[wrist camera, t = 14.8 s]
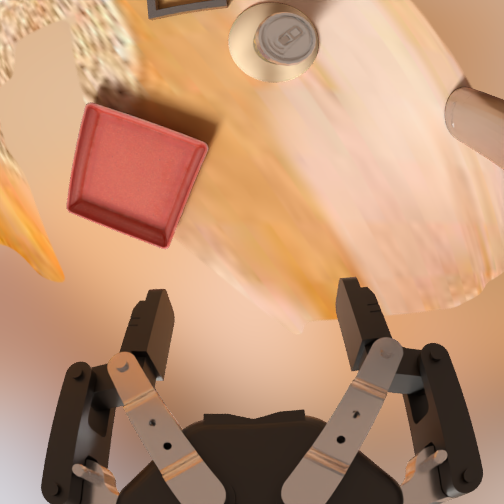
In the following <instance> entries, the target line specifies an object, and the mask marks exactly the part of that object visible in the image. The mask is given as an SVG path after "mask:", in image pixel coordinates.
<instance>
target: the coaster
mask: <svg viewBox="0 0 504 504" xmlns="http://www.w3.org/2000/svg"><path fill="white" fill-rule="evenodd" d="M280 12H288V13H294V14H297V15H299V16H301V17H303V18H304V19H305V20H306V21H308V22H309V23H310V25H311V26H312V28H313V29H314V32H315V36H316V44H315V48H314V50H313V52H312V55H310V56H309V57H308V58H307V59H306V60H305V61H303V62H301V63H299V64H297V65H291V66H283V65H276V64H272V63H268V62H266V61H264V60H262V59H261V58H260V57H258V55H257V54H256V52H255V50H254V47H253V39H254V36H255V33H256V31H257V28H258V26H259V24H260V23H261V22H262V21H263V20H264V19H265V18H266V17H268V16H270V15H272V14H274V13H280ZM228 45H229V50H230V54H231V56H232V58H233V60H234V62H235V63H236V65H237V66H238V67H239V68H240V69H241V70H242V71H243V72H244V73H246V74H247V75H249V76H251V77H253V78H255V79H257V80H260V81H264V82H271V83H278V82H285V81H289V80H292V79H295V78H297V77H299V76H300V75H302V74H303V73H304V72H306V71H307V70H308V69H309V67H310V66H311V65H312V64H313V62H314V60H315V58H316V55H317V52H318V36H317V32H316V30H315V27H314V26H313V24H312V22H311V21H310V20H309V19H308V17H307V16H306V15H304V14H303V13H302V12H301V11H299V10H297V9H296V8H294V7H291V6H289V5H286V4H281V3H263V4H259V5H256V6H253V7H251V8H249V9H247V10H246V11H244V12H243V13H242V14H241V15H239V17H238V18H237V19H236V20H235V22H234V23H233V25H232V27H231V29H230V33H229V39H228Z"/></svg>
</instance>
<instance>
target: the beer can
mask: <svg viewBox="0 0 504 504" xmlns="http://www.w3.org/2000/svg"><path fill="white" fill-rule="evenodd" d="M315 44H316V36H315V32H314V29H313V28H312V26H311V25H310V23H309V22H308V21H306V20H305V19H304V18H303V17H301V16H299V15H297V14H294V13H288V12H280V13H274V14H272V15H270V16H268V17H266V18H265V19H264V20H263V21H262V22H261V23H260V24H259V26H258V28H257V31H256V33H255V36H254V39H253V47H254V50H255V52H256V54H257V55H258V57H260V58H261V59H262V60H264V61H266V62H268V63H272V64H276V65H283V66H291V65H297V64H299V63H301V62H303V61H305V60H306V59H307V58H308V57H309V56H310V55H312V52H313V50H314V48H315Z"/></svg>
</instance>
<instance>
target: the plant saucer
mask: <svg viewBox="0 0 504 504" xmlns="http://www.w3.org/2000/svg"><path fill="white" fill-rule="evenodd" d="M207 152H208V145H207V144H206V143H205V142H203V141H201V140H198V139H196V138H193V137H190V136H188V135H185V134H182V133H180V132H177V131H174V130H172V129H169V128H166V127H163V126H161V125H158V124H155V123H152V122H149V121H147V120H144V119H141V118H138V117H135V116H132V115H129V114H126V113H123V112H120V111H117V110H114V109H111V108H108V107H105V106H102V105H98V104H95V103H88V104H86V106H85V109H84V114H83V118H82V122H81V126H80V130H79V134H78V139H77V144H76V150H75V155H74V160H73V165H72V171H71V177H70V184H69V191H68V198H67V210H68V211H69V212H70V213H72V214H75V215H77V216H79V217H82V218H84V219H87V220H90V221H92V222H95V223H97V224H100V225H102V226H105V227H107V228H110V229H112V230H116V231H117V232H120V233H123V234H125V235H128V236H130V237H133V238H136V239H138V240H141V241H144V242H147V243H149V244H152V245H154V246H157V247H159V248H162V249H167V248H168V247H169V246H170V243H171V240H172V238H173V235H174V233H175V230H176V228H177V225H178V222H179V220H180V217H181V215H182V213H183V209H184V207H185V205H186V202H187V199H188V197H189V194H190V192H191V189H192V187H193V184H194V182H195V180H196V177H197V175H198V173H199V170H200V168H201V165H202V163H203V161H204V159H205V156H206V154H207Z"/></svg>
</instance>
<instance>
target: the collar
mask: <svg viewBox="0 0 504 504" xmlns="http://www.w3.org/2000/svg"><path fill="white" fill-rule="evenodd" d="M147 5H148V16H149V19H150V20H155V19H160V18H165V17H169V16H174V15H180V14H185V13H191V12H198V11H204V10H212V9H220V8H227V0H212V1H204V2H197V3H191V4H185V5H180V6H174V7H170V8H165V9H160V10H159V5H158V0H147Z"/></svg>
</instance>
